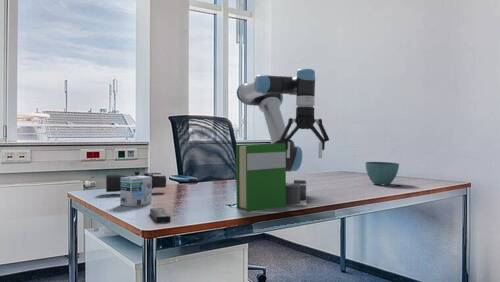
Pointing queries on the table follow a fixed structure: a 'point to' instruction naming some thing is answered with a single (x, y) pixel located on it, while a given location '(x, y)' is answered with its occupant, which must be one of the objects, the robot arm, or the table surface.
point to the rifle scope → (115, 180)
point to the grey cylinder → (292, 193)
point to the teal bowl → (381, 172)
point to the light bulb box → (136, 190)
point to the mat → (300, 203)
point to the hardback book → (260, 176)
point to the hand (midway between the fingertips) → (304, 157)
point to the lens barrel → (302, 189)
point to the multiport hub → (160, 215)
